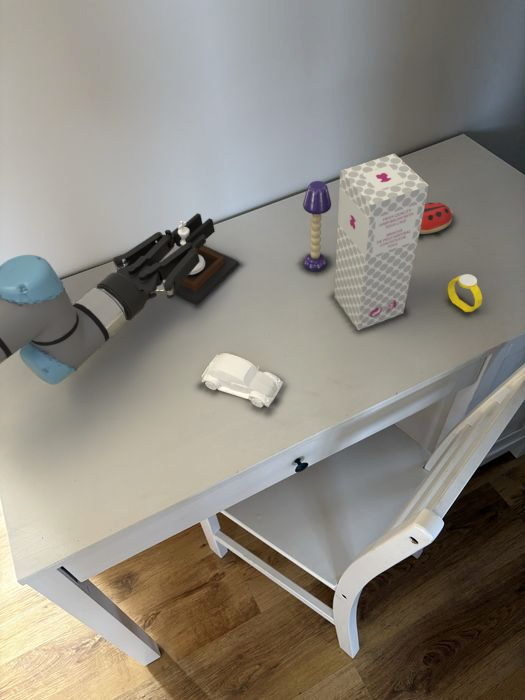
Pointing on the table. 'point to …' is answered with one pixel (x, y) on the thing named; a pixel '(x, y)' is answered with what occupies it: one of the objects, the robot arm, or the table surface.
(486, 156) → the table surface
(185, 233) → the chess piece
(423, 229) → the ladybug figurine
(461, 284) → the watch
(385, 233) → the box
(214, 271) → the socket pad
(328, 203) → the toy lamp
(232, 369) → the car
